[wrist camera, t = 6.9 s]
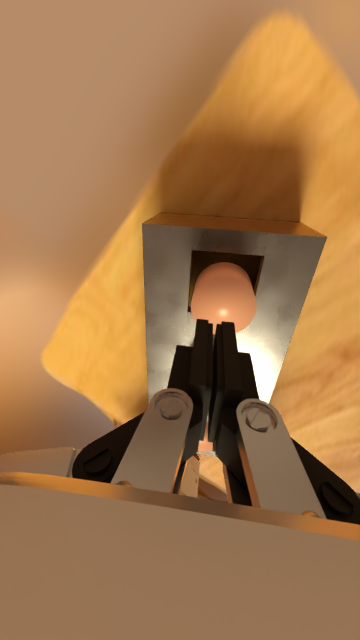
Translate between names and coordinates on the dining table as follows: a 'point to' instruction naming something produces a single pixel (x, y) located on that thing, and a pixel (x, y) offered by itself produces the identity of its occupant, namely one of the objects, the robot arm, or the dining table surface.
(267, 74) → the dining table surface
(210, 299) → the near knob
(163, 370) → the knob housing
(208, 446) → the far knob
